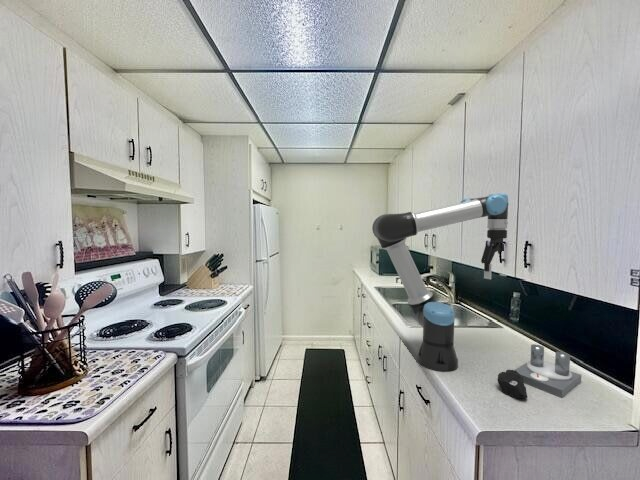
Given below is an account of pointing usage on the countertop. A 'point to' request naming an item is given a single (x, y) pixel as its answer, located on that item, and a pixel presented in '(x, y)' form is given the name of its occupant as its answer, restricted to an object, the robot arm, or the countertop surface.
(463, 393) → the countertop surface
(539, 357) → the cylinder
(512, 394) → the rock
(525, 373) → the scale
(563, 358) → the cylinder
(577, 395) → the countertop surface
